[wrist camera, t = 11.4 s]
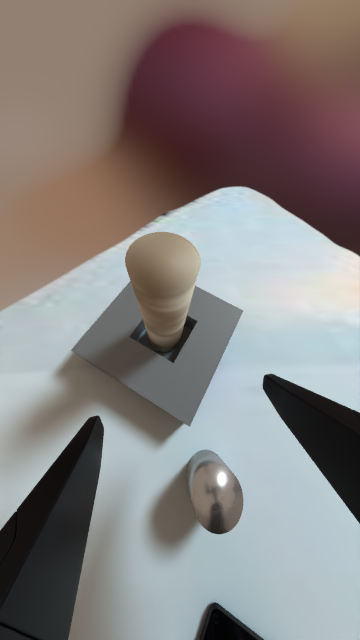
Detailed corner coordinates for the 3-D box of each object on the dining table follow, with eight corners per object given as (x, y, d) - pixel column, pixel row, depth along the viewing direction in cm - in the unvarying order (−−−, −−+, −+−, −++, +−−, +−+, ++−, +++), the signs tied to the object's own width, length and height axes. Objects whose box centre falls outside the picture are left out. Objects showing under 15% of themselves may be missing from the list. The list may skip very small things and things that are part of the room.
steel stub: (232, 464, 17) (250, 483, 14) (216, 511, 16) (231, 547, 12) (197, 441, 18) (206, 454, 14) (179, 485, 16) (182, 512, 13)
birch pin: (180, 322, 23) (198, 233, 10) (180, 351, 21) (203, 291, 8) (150, 322, 23) (128, 230, 10) (148, 352, 21) (121, 290, 8)
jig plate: (234, 320, 24) (243, 310, 21) (186, 421, 18) (189, 426, 16) (149, 275, 25) (147, 261, 23) (84, 355, 20) (71, 350, 17)
